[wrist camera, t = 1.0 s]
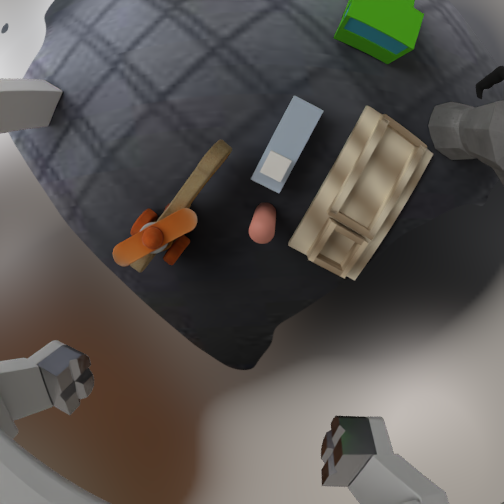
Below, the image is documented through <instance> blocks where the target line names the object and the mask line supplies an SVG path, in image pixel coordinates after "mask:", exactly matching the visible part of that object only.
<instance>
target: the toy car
mask: <svg viewBox="0 0 504 504" xmlns="http://www.w3.org/2000/svg"><path fill="white" fill-rule="evenodd" d="M414 1H415V0H349V1H348V4H347V6H346V9H345V11H344V14H343V16H342V20H341V22H340V25H339V27H338V29H337V31H336V33H335V35H334V39H336V40H339V41H341V42H343V43H346V44H348V45H350V46H352V47H354V48H357V49H359V50H361V51H363V52H365V53H367V54H369V55H371V56H373V57H375V58H377V59H378V60H380V61H382V62H384V63H386V64H389V63H391V62H393V61H394V60H396V59H398V58H400V57H401V56H403V55H405V54H407V53H408V52H410V51H412V50H414V46H415V43H416V40H417V37H418V33H419V30H420V27H421V23H422V20H423V16H424V14H423V13H421V12H420V11H418V10H417V9H415V8H414Z"/></svg>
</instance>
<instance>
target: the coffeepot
mask: <svg viewBox="0 0 504 504" xmlns="http://www.w3.org/2000/svg"><path fill="white" fill-rule="evenodd" d="M503 80H504V66H499V67H498V68H496V69H495V70H494V71H493V72H491V73H490V74H489V75H487V76H486V77H485V78H484V79H482V80H481V81H480V82H478V83H477V84H476V93H477V97H478V98H480V99H482V93H483V90H484V89H489V88H491V87H492V86H493V85H494V84H497V83H499V82H501V81H503ZM428 128H429V132H430V136H431V139H432V142H433V144H434V147H435V149H436V150H438V151H439V152H440V153H442V154H443V155H445V156H446V157H448V158H449V159H450V160H461V159H475V158H478V159H479V160H480V161H481V162H483V163H484V164H486V165H488V166H490V167H492V168H493V169H494V171H495V173H496V174H497V176H498V177H499V179H500V180H501V182H502V184H503V185H504V100H502V101H497V102H495V103H491V104H487V105H483V106H480V107H476V108H474V107H472V106H468V105H464V104H460V103H455V102H448V103H444V104H440V105H436V106H435V107H434V110H433V112H432V114H431V116H430V120H429V124H428Z"/></svg>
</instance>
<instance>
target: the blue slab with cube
mask: <svg viewBox="0 0 504 504" xmlns="http://www.w3.org/2000/svg"><path fill="white" fill-rule="evenodd" d="M322 113H323V110H321V109H319V108H318V107H316V106H314V105H312V104H310V103H308V102H306V101H304V100H302V99H300V98H298V97H296V96H294V97H293V98H292V100H291V102H290V104H289V106H288V108H287V110H286V112H285V113H284V115H283V117H282V119H281V121H280V123H279V125H278V127H277V129H276V131H275V133H274V134H273V136H272V138H271V140H270V142H269V144H268V146H267V148H266V150H265V152H264V154H263V156H262V158H261V160H260V162H259V164H258V166H257V168H256V170H255V172H254V174H253V176H252V178H251V180H253V181H255V182H257V183H259V184H261V185H263V186H265V187H267V188H269V189H271V190H273V191H275V192H277V193H280V191H281V189H282V188H283V186H284V184H285V182H286V180H287V178H288V176H289V174H290V173H291V171H292V169H293V167H294V165H295V163H296V161H297V160H298V158H299V156H300V154H301V152H302V150H303V148H304V146H305V145H306V143H307V141H308V139H309V137H310V135H311V133H312V132H313V130H314V128H315V126H316V124H317V122H318V120H319V119H320V117H321V115H322Z"/></svg>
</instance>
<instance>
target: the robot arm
mask: <svg viewBox="0 0 504 504" xmlns="http://www.w3.org/2000/svg"><path fill="white" fill-rule="evenodd" d="M90 365H91V363H90V359H89V357H88V356H87V355H86V354H84V353H82V352H80V351H77V350H75V349H74V348H72V347H70V346H68V345H65V344H63V343H61V342H59V341H57V340H56V341H52V342H50V343H49V344H47V345H46V346H45V347H43V348H42V349H40V350H39V351H38V352H36V353H35V354H33V355H32V356H31V357H29V358H28V359H26V358H19V359H13V360H6V361H0V504H111V503H109V502H107V501H105V500H102V499H101V498H99V497H97V496H95V495H93V494H91V493H90V492H88V491H86V490H84V489H82V488H81V487H79V486H77V485H76V484H74V483H72V482H71V481H69V480H67V479H66V478H64V477H63V476H61V475H59V474H58V473H57V472H55V471H54V470H52V469H51V468H49V467H48V466H46V465H45V464H44V463H42V462H41V461H39V460H38V459H37V458H35V457H34V456H33V455H32V454H30V453H29V452H28V451H26V450H25V449H24V448H23V447H21V446H20V445H19V444H18V443H17V442H15V441H14V440H13V438H14V437H15V436H16V435H17V434H18V429H17V427H16V425H15V424H14V422H13V421H14V420H17V419H20V418H23V417H26V416H28V415H31V414H34V413H37V412H39V411H42V410H45V409H48V408H51V407H53V406H54V407H56V408H58V409H60V410H61V411H63V412H65V413H67V414H69V415H71V414H72V412H74V411H75V409H76V408H77V407H78V406H79V405H80V399H83V398H86V397H88V395H89V394H90V393H91V391H92V388H93V386H94V377H93V374H92V372H91V371H90V369H89V367H90ZM52 405H53V406H52ZM321 459H322V460H323V462H324V463H325V465H324V466H323V468H322V486H339V487H340V486H341V487H348V489H349V490H350V491H351V493H352V494H353V495H354V497H355V498H356V499H357V500H358V502H359V503H360V504H449V502H448V498H447V495H446V492H444V491H443V490H442V489H441V488H439V487H438V486H437V485H435V484H434V483H433V482H432V481H431V480H429V479H428V478H427V477H426V476H424V475H423V474H422V473H421V472H419V471H418V470H417V469H416V468H414V467H413V466H412V465H411V464H409V463H408V462H407V461H406V460H405V459H404V458H402V457H401V456H400V455H399V454H394V453H393V449H392V446H391V442H390V439H389V436H388V432H387V429H386V426H385V422H384V419H383V418H382V417H355V416H335V418H333V420H332V422H331V430H330V431H329V432H327V433H326V435H325V437H324V439H323V443H322V448H321ZM501 504H504V502H503V503H501Z"/></svg>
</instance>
